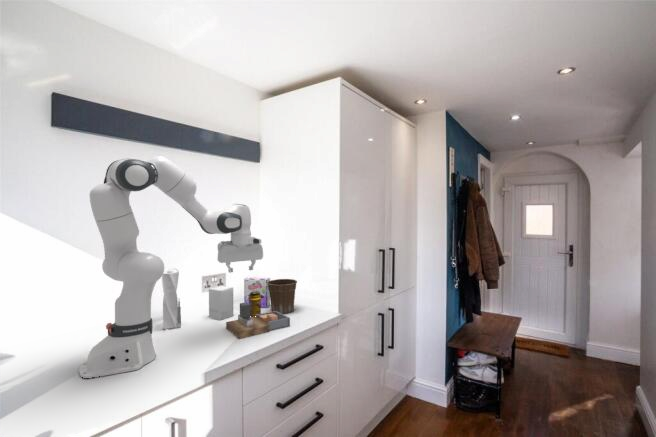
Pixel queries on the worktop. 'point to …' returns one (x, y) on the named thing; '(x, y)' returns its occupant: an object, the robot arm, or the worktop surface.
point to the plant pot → (282, 295)
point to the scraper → (245, 315)
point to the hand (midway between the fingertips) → (241, 271)
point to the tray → (277, 321)
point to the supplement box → (220, 302)
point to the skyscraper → (171, 300)
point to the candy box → (257, 289)
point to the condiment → (255, 303)
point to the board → (243, 331)
